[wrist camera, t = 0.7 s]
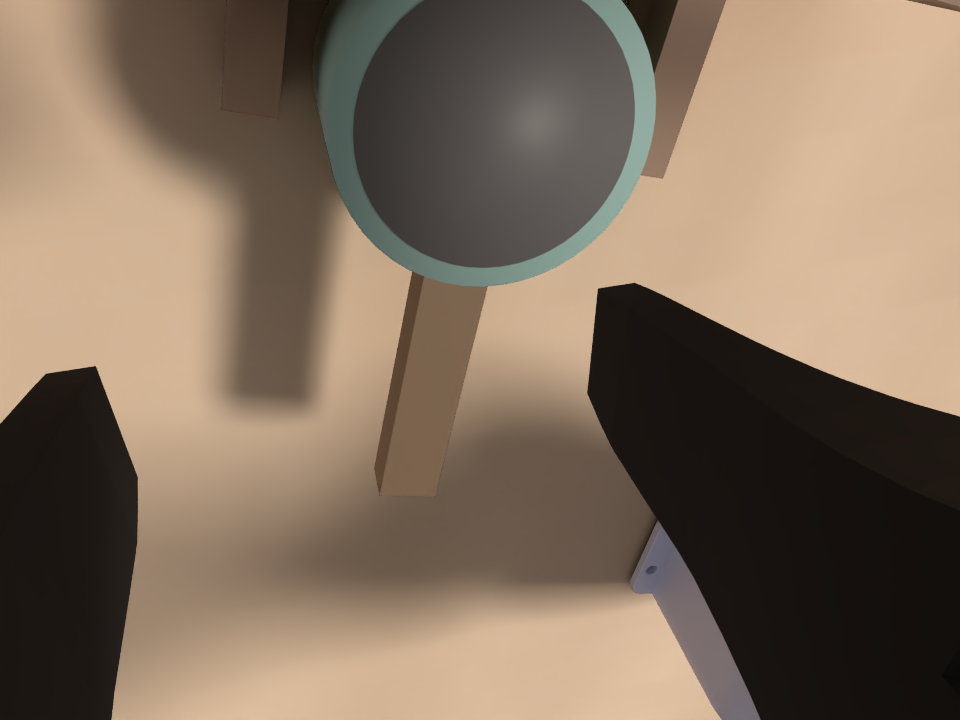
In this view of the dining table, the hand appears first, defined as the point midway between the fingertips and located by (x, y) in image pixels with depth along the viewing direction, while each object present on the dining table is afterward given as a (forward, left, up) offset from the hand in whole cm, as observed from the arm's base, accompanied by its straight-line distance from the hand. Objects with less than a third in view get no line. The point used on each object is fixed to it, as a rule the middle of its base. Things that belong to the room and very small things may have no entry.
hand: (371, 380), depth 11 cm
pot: (-1, -3, -11) cm, 11 cm away
